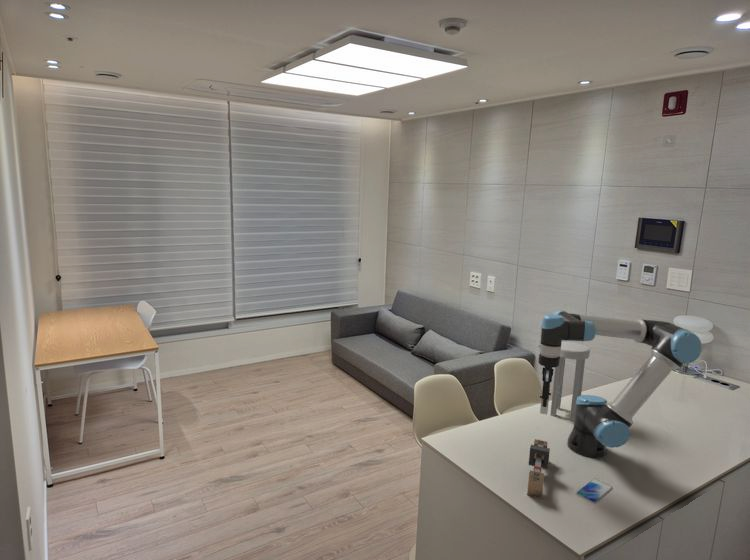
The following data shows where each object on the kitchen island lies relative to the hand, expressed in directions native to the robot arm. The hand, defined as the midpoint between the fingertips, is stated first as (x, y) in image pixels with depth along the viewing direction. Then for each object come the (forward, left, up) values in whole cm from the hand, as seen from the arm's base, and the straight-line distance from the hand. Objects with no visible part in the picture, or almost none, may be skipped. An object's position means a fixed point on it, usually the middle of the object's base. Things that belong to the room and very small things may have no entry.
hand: (543, 412), depth 186 cm
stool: (-9, -54, -23) cm, 59 cm away
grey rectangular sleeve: (0, +6, -19) cm, 20 cm away
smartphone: (-20, +10, -23) cm, 32 cm away
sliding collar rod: (0, +9, -22) cm, 24 cm away
